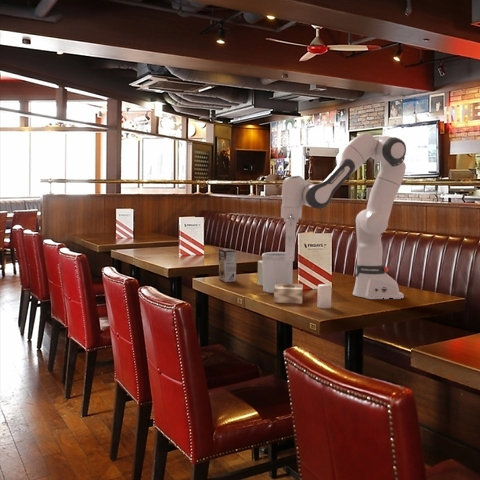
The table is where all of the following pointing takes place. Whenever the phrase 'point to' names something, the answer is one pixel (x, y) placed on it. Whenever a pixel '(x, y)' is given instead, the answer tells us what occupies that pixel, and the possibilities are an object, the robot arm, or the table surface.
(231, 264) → the coffee box
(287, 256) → the square bar
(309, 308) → the table surface
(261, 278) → the can
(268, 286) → the utensil holder
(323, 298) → the white rounded block
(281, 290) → the socket block
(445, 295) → the table surface
